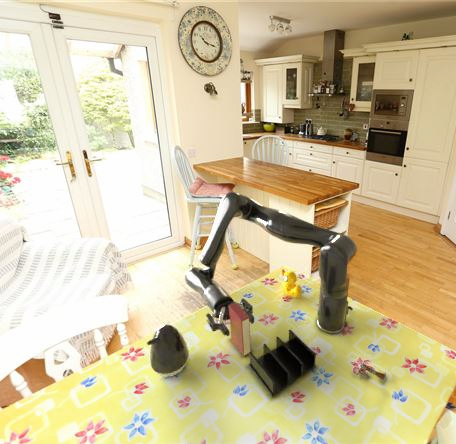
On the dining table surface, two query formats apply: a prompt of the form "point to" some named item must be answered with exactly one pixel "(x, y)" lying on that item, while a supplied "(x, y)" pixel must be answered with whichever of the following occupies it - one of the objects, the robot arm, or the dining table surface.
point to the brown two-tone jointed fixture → (372, 371)
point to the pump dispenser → (168, 351)
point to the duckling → (291, 284)
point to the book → (240, 328)
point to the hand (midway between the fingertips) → (241, 327)
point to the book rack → (283, 363)
